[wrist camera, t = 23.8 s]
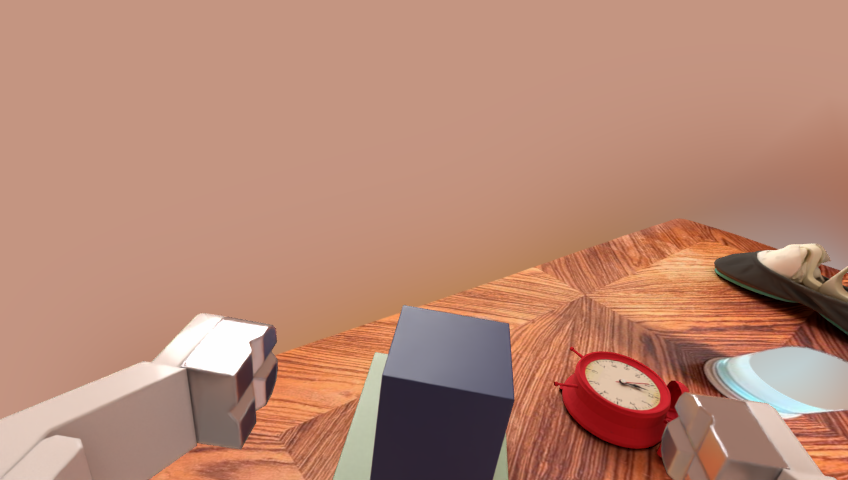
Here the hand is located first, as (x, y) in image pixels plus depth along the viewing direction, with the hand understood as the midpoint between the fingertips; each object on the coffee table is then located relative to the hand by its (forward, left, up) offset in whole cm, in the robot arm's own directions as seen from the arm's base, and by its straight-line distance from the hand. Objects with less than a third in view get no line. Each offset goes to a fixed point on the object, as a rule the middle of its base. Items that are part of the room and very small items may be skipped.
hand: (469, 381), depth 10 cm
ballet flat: (+57, -63, -28) cm, 89 cm away
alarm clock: (+30, -24, -28) cm, 48 cm away
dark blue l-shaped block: (+17, -2, -22) cm, 28 cm away
